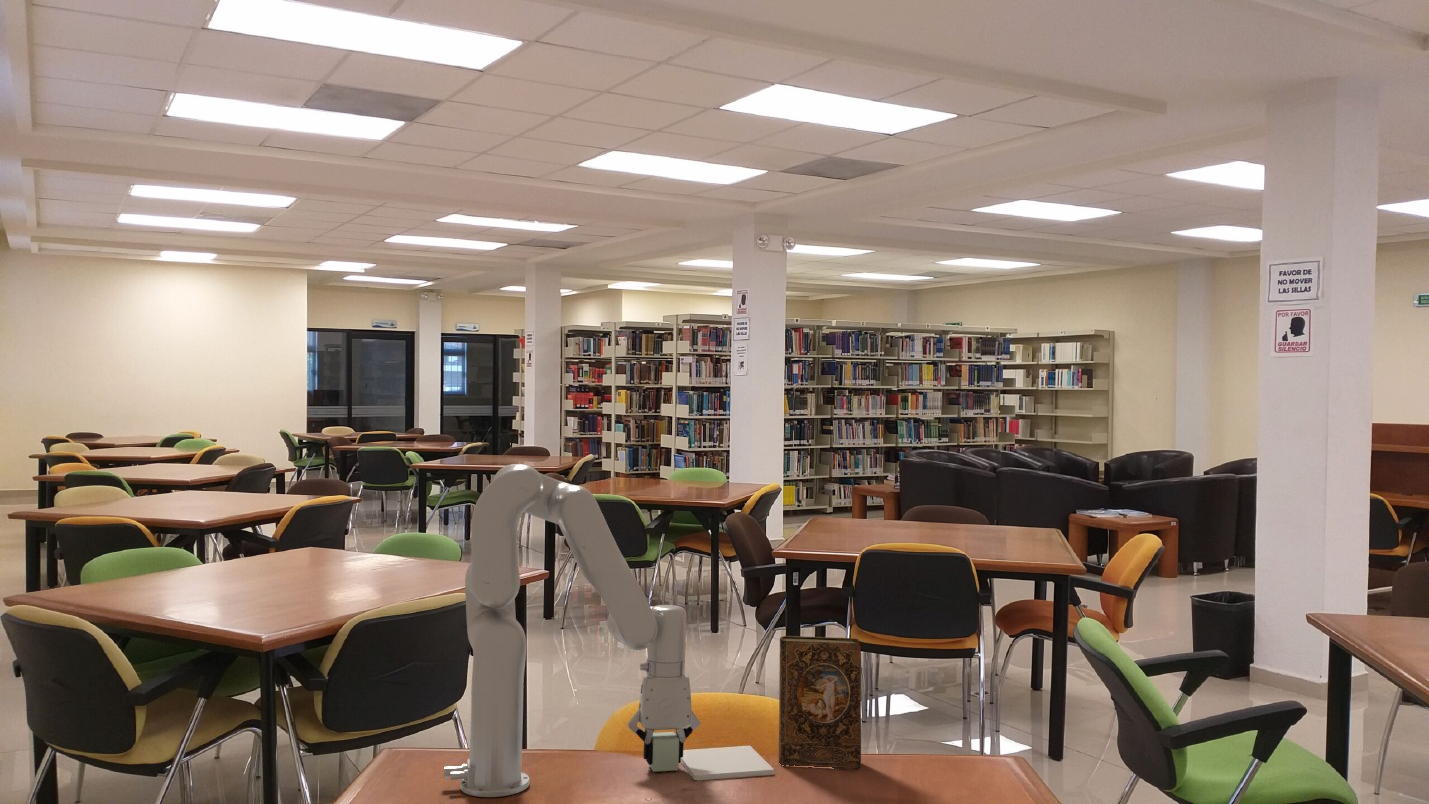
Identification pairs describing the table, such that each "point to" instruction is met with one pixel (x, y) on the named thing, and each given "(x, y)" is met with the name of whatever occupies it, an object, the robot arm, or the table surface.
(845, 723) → the book
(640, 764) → the table surface
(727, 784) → the table surface
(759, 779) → the table surface
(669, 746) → the block
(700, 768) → the pale board
